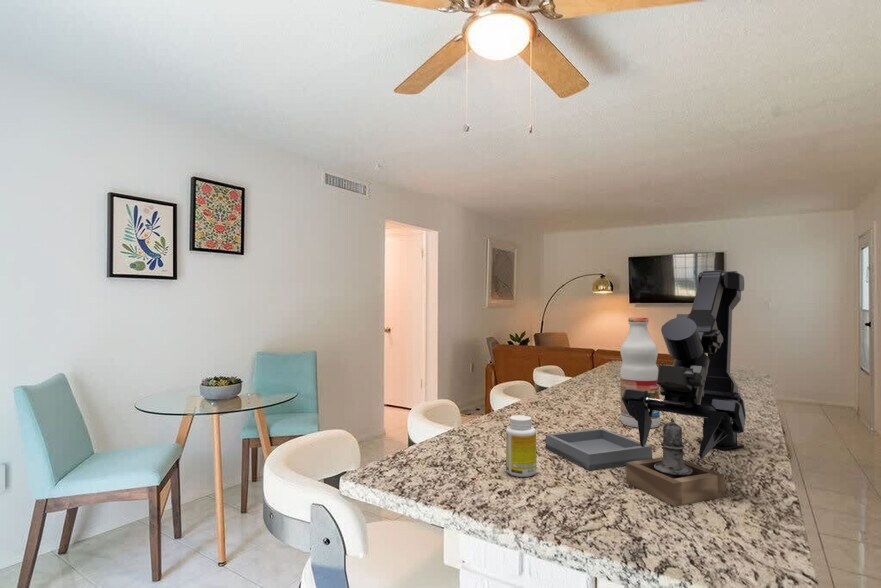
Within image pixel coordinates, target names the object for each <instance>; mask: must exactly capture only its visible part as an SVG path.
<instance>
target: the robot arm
mask: <svg viewBox="0 0 881 588" xmlns="http://www.w3.org/2000/svg"><path fill="white" fill-rule="evenodd" d="M744 290H745V276H744V275H743V274H742V273H738V271H737V270H729V271H728V270H726V271H725V270H723V269H722V270H721V269H720V270H719V269H717V270H703V271H702V272H699V273H698V276H697V289H696V293H695V297H694V300H693V304H692V307H691V309H690V311H689V312H690V313H677V314H676V317H675V318H672V319H670V320H668V321H666V322H665V323H664V324H662V326H661V327H660V328H661V330H660V331H661V334H662V335H661V336H662V337H663V340H664V343H665V345H666V349H667V352H668V354H669V357H671V358H672V359H673V360H674V361H673V364H672V365H664V364H663V365H659V366H658V377H657V384H658V385H659V387H660V388H659V394H660V395H661V396H662V397H663V396H664V398H663V399H661V398H659V399H653V398H650V396H649V394H648V391H646V390H637V389H626V390H625V391H624V393H623V396H622V401H623V403H624V405H625V407H626V409H627V411H628V413H629V415H630V416H632V417H634V419H635V420H636V421H638V436H639V442H640V445H641V447H644V446H645V444H647V441H648V438H649V434H650V430H651V429H652V428H651V424H652V420H651V418H650V417H652V415H653V410H656V411H660V412H664V413H665V412H666V413H670V414H671V413H673V414H677V415H682V416H687V417H688V416H689V417H696V418H703V422H702V439H698V440H697V443H699V444H700V446H699V452H698V456H699V458H700V459H704V458H705V457H706V456H707V455H708V454H709V452H710V451H712V449H713V448H716V449H719V450H724V451H725V450H731V449H739V448H744V447H745V445H744V444H743V443H740V442H738V434H742V433H744V431H745V427H746V422H745V421H746V420H747V417H746V406H745V401H744V400H743V398H742V396H741V395H742V394H741V393H740V392H739V386H738V384H737V382H736V381H735V379H734V377H733V376H732V374H731V355H732V354H731V352H732V326H733V310H734V309H735V308H736V307H737V305H738V304H739V303H740V302H741V299H742V292H743V291H744Z"/></svg>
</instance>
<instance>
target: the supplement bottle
mask: <svg viewBox="0 0 881 588" xmlns="http://www.w3.org/2000/svg"><path fill="white" fill-rule="evenodd" d="M532 424H533V423H532V417H531V416H528V415H523V414H521V415H520V414H519V415H517V414H516V415H511V416H510V417H509V426H507V428H506V430H505V457H506V458H505V459H506V460H505V461H506V462H505V463H506V471H507V473H508V474H509V475H511V476H513V477H519V478H528V477H532V476H534V475H535V474H536V473H537V430H536V429H535V427H533V425H532Z"/></svg>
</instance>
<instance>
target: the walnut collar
mask: <svg viewBox="0 0 881 588" xmlns="http://www.w3.org/2000/svg"><path fill="white" fill-rule="evenodd" d="M662 459H663V456H662V457H655V458H653V457H652V459H646V460H639V461H632V462H626V465H625V481H626V482H625V483H626V484H629V485H630V486H632V487H635V488H637V489H638V490H641V491H642V492H644V493H647V494H649V495H651V496H652V497H654V498H656V499H659V500H660V501H662V502H665V503H667V504H669V505H671V506H673V507H678V506H682V505H684V506H685V505H688V504H694V503H700V502H705V501H710V500H714V499H715V500H716V499H721V498H726V497H725V496H726V493H725V491H726V490H725V487H726V486H725V474H722V473H720V472H718V471H714V470H712V469H709V468H706V467H703V466H701V465H698V464H696V463H693V462H690V461H687V460H684V459H683V461H684V464H685V465H686V466H688V467H690V468H691V469H692V470H693V473H692V474H691V476H688V477H682V478H676V479H673V478H671V477H668V476H666V475H664V474H661V473H659V472H657V471H656V469H655V468H654V465H655V464H657V463H661V462H662Z"/></svg>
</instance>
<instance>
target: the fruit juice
mask: <svg viewBox="0 0 881 588" xmlns="http://www.w3.org/2000/svg"><path fill="white" fill-rule="evenodd" d="M627 322H628V324H629V330H628V334H627V337H626V339H625V340H624V341H623V343H622V344H621V346H620V357H621V359H622V360H621V361H622V363H621V365H620V373H619V375H620V376H619V378H620V380H619V381H620V382H619V383H620V388H619V390H620V420H621V423H622V424H623V425H624V426H627V427H631V428H636V429H637V428H638V421H636V420H635V419H634V417H632V416H630V415H629V413H628V411H627V409H626V407H625V405H624V403H623V401H622V396H623V393H624V391H625V390H626V389H637V390H646V391H648V394H649V396H650V398H653V399H660V385H658V384H657V377H658V369H659V366H658V364H657V359H658V355H659V352H658V347H657V345H656V343H655V342H654V341H653V340H652V338H651V336H650V333H649V330H648V324H649V317H638V316H636V317H628V320H627ZM660 414H661V411H656V410H653V415H652V417H650V418H651V420H652V424H651V428H650V429H654V428H658V427H659V426H660V424H661V418H660V416H661V415H660Z"/></svg>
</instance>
